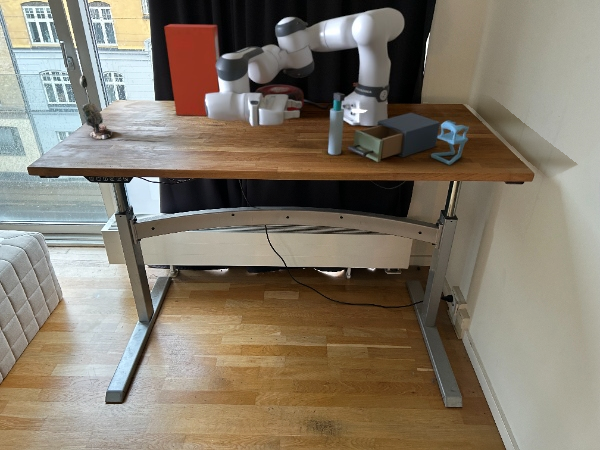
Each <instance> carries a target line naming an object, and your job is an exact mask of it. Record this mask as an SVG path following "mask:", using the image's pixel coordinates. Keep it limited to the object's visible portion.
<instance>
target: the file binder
mask: <svg viewBox="0 0 600 450" xmlns="http://www.w3.org/2000/svg"><path fill="white" fill-rule="evenodd" d="M164 34H165V43H166V48H167V57H168V63H169V64H168V65H169V70H170V80H171V86H172V93H173V99H174V101H173V102H174V108H175V114H176V116H199V117H200V116H202V117H205V116H206V117H208V116H207V114H206V109H205V96H206V94H208V93H217V92H219V91H220V87H219V80H218V75H217V70H216V62H217V60H218V59H219V58H220V57H221V56H220V46H219V30H218V25H217V24H188V23H187V24H186V23H185V24H183V23H181V24H179V23H169V24H168V25H165V26H164Z"/></svg>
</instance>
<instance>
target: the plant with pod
mask: <svg viewBox="0 0 600 450" xmlns="http://www.w3.org/2000/svg"><path fill="white" fill-rule="evenodd" d="M79 84H80V86H81V88H83V89H84V92H85V95H86V97H87V100H88V103H85V104H83V105H80V106H81V111H82V116H83V118H84V121H85V123H86V126H89V127H92V128H93V129H92V132H90V133H89V134H88V136H89V137H90V138H91V139H93V140H105V139H108V138H110V137H111V136H112V135H113V132H112V129H110V128H108V127H107V126H106V125H105V124H103V122H104V119H103V115H102V113H101V112H100V110H99V109H98V107H97V106H96V105H95V104H94V103H91V101H90V98H89V97H90V96H89V95H88V92H87V87H88V81H87V78H86V76H85V75H83V74H82V75H81V76H80V78H79ZM101 124H102V125H101ZM100 125H101V126H100Z"/></svg>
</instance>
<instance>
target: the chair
mask: <svg viewBox="0 0 600 450" xmlns="http://www.w3.org/2000/svg"><path fill="white" fill-rule="evenodd" d="M456 123H457V122H456V121H453V120H445V121H444V122H442V123H440V129H441V130H440V131H441V132H440V134H438V137H437V140H438V139H439V140H441V141H445V142H447V144H448V146H449V148H450V149H449V150H450V151H444V152H433V153H430V157H431V158H432V159H435V160H437V161H439V162H442V163H444V164H446V165H448V166H450V165H452V164H453V163H454V162H456V161H457V160H459V159H460V158H461V156H462V153H463V150H464V147H465V144H466V142H467V141H468V140H469V137H467V136H466V135H467V132H468V131H469V129H470V127H469V126H466V125H464V124H459V125H456ZM445 130H449V131H450V132H447V133H445ZM463 130H464V132H463V133H462V135H460V134H458V133H459V132H461V131H463ZM454 145H459V148H458V151H457V154H455V153H456V151H455V148H454ZM447 156H453V157H452V158H451V159H450V160H448V159H446V158H443V157H447Z"/></svg>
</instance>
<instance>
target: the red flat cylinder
mask: <svg viewBox="0 0 600 450" xmlns="http://www.w3.org/2000/svg"><path fill="white" fill-rule="evenodd" d="M254 93H262V95H263V97H264V98H265V96H266V95H272V94H285V95H288V100H294V101H301V102H302V106H301V108H296V107H287V110H286V111H294V110H299V111H300V113H301V112H302V111H303V108H304V105H305V102H304V99H305V96H304V92H303V90H302V89H301V88H300V87H297V86H295V85H294V86H293V85H289V84H267V85H264V86H262V87H258V88H257V89H256V90H255V92H254Z"/></svg>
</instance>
